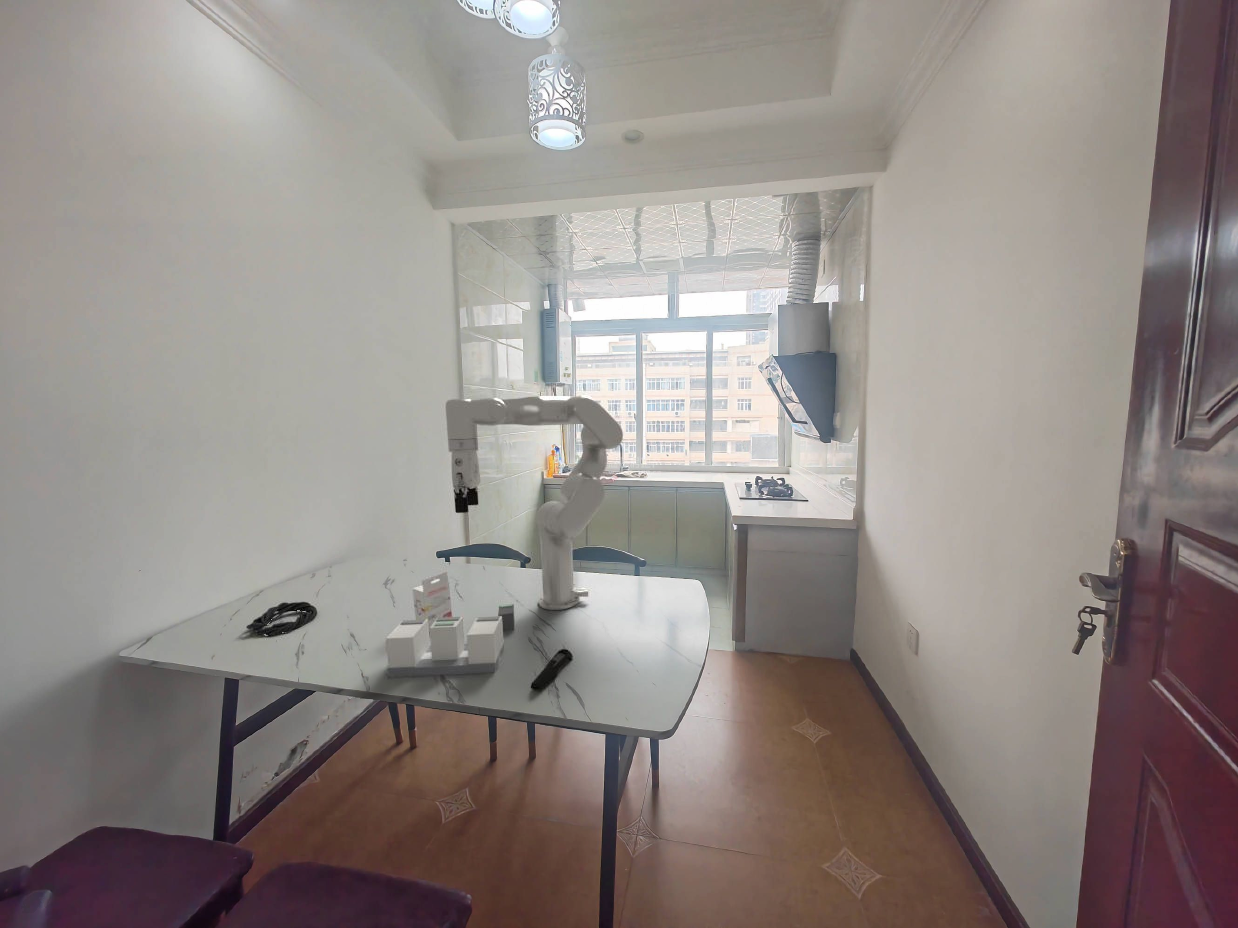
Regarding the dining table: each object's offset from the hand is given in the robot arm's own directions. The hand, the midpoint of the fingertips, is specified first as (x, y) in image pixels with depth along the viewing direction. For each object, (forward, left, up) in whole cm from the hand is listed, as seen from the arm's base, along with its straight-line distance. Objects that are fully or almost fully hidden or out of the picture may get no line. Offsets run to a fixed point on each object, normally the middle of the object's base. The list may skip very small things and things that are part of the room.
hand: (467, 508), depth 124 cm
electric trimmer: (-24, +26, -34) cm, 49 cm away
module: (+1, +19, -31) cm, 37 cm away
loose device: (-9, +1, -33) cm, 35 cm away
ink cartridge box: (+12, -2, -34) cm, 36 cm away
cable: (+56, -8, -34) cm, 66 cm away
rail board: (+1, +19, -33) cm, 38 cm away
